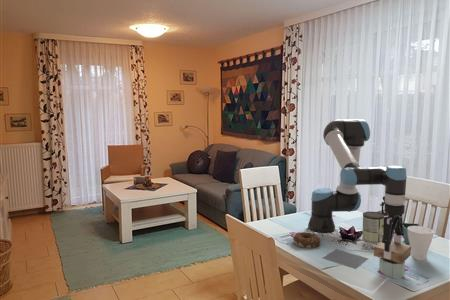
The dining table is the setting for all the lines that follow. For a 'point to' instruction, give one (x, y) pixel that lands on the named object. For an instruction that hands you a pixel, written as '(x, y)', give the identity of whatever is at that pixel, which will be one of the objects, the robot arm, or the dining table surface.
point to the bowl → (391, 268)
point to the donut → (306, 240)
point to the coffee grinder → (384, 212)
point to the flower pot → (405, 226)
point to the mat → (345, 258)
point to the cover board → (394, 251)
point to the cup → (419, 241)
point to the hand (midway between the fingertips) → (392, 254)
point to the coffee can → (372, 227)
